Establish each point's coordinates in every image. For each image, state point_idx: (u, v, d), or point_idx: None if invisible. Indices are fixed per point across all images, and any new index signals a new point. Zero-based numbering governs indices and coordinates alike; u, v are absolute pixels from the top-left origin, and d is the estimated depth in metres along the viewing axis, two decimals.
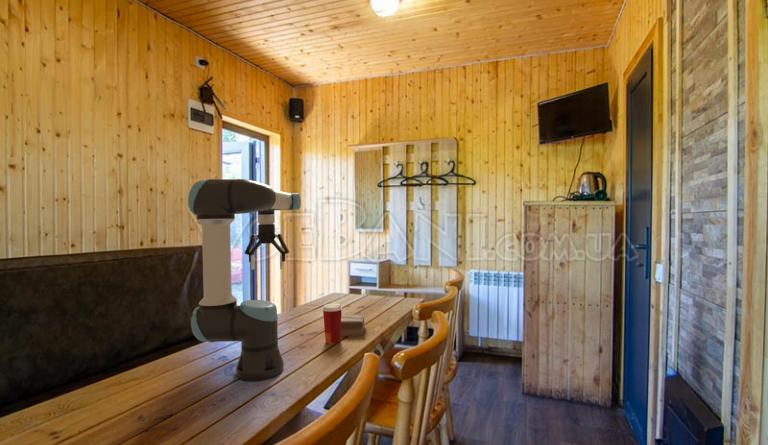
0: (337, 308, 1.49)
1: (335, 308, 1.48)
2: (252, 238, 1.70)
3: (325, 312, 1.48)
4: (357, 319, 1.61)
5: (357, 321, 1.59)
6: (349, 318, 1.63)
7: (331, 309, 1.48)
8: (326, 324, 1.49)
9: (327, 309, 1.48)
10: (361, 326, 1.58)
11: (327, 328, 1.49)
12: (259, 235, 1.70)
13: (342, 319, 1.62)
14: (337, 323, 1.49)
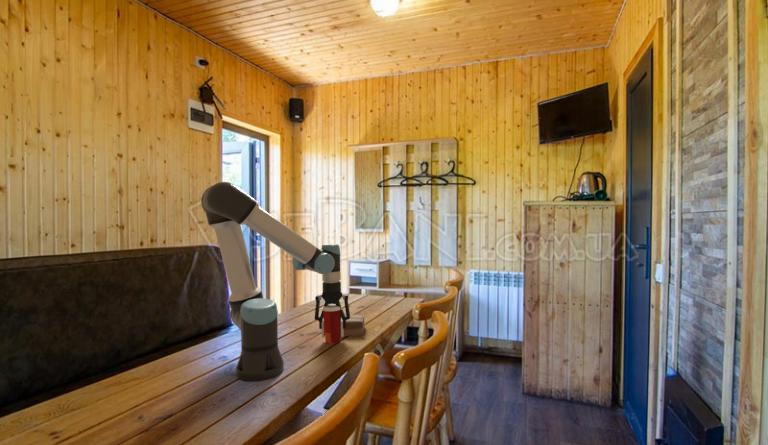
0: (337, 308, 1.49)
1: (335, 308, 1.48)
2: (317, 300, 1.50)
3: (325, 312, 1.48)
4: (357, 319, 1.61)
5: (357, 321, 1.59)
6: None
7: (331, 309, 1.48)
8: (326, 324, 1.49)
9: (327, 309, 1.48)
10: (361, 326, 1.58)
11: (326, 328, 1.49)
12: (324, 294, 1.50)
13: None
14: (337, 323, 1.49)
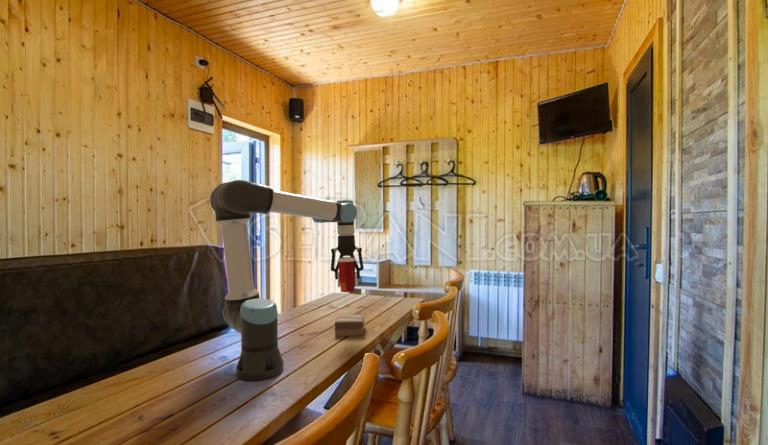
0: (351, 259, 1.59)
1: (349, 259, 1.59)
2: (333, 252, 1.61)
3: (340, 263, 1.59)
4: (357, 319, 1.61)
5: (357, 321, 1.59)
6: (349, 318, 1.63)
7: (346, 260, 1.58)
8: (341, 274, 1.59)
9: (342, 260, 1.59)
10: (361, 326, 1.58)
11: (342, 278, 1.59)
12: (339, 247, 1.61)
13: (342, 319, 1.62)
14: (351, 273, 1.59)
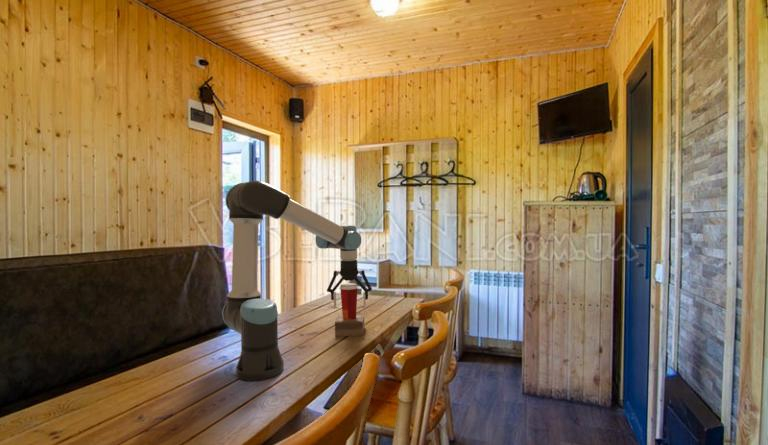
0: (353, 287, 1.61)
1: (352, 287, 1.61)
2: (334, 275, 1.63)
3: (342, 290, 1.61)
4: (357, 319, 1.61)
5: (357, 321, 1.59)
6: None
7: (348, 287, 1.60)
8: (343, 301, 1.61)
9: (344, 287, 1.61)
10: (361, 326, 1.58)
11: (344, 305, 1.61)
12: (342, 272, 1.63)
13: (342, 319, 1.62)
14: (353, 300, 1.61)
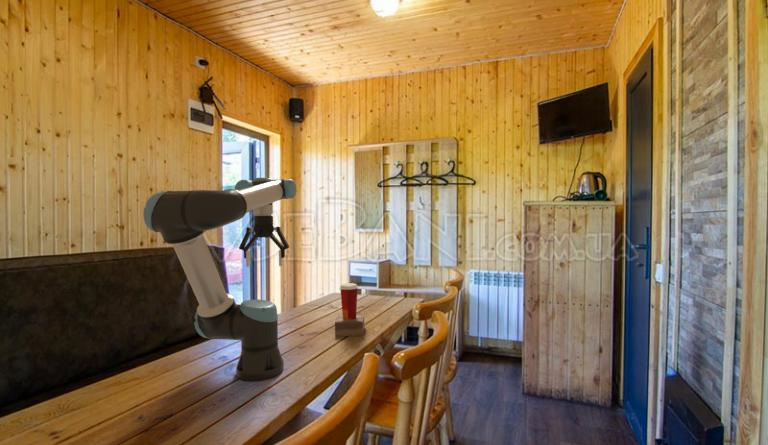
0: (353, 287, 1.61)
1: (352, 287, 1.61)
2: (247, 231, 1.51)
3: (342, 290, 1.61)
4: (357, 319, 1.61)
5: (357, 321, 1.59)
6: None
7: (348, 287, 1.60)
8: (343, 301, 1.61)
9: (344, 287, 1.61)
10: (361, 326, 1.58)
11: (344, 305, 1.61)
12: (255, 228, 1.51)
13: (342, 319, 1.62)
14: (353, 300, 1.62)
